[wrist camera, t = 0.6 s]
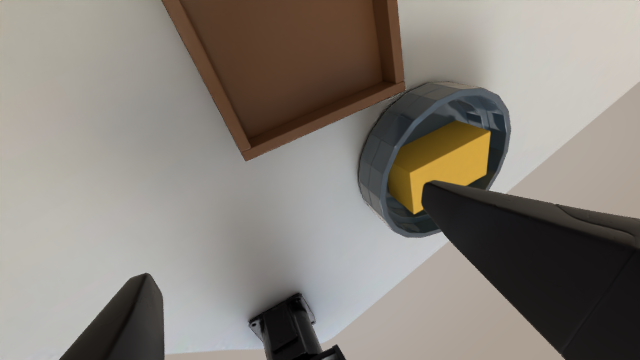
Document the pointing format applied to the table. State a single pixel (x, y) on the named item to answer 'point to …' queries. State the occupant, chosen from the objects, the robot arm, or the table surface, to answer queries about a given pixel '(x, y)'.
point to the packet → (438, 161)
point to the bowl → (417, 121)
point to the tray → (290, 62)
